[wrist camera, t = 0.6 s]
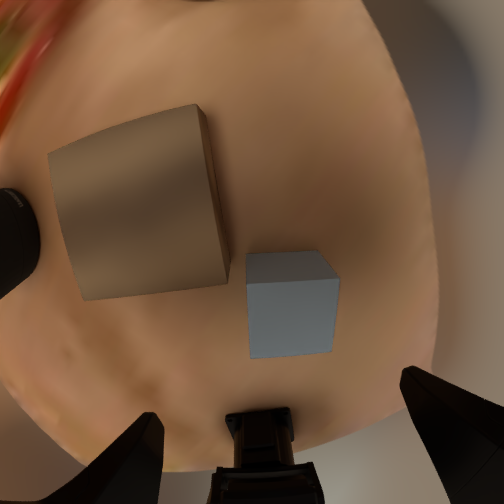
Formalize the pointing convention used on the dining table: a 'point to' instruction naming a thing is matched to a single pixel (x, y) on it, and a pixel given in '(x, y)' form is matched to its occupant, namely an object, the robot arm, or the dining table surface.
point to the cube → (290, 303)
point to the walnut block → (142, 207)
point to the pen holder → (16, 240)
